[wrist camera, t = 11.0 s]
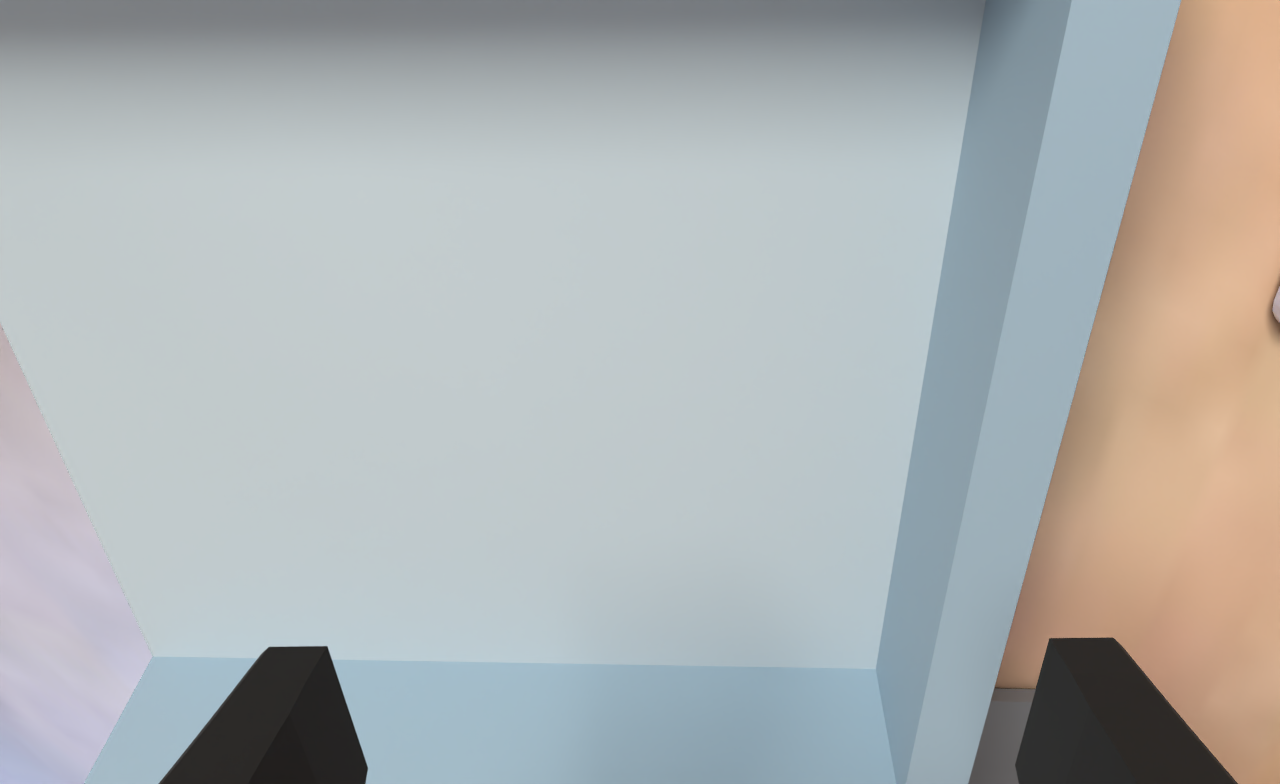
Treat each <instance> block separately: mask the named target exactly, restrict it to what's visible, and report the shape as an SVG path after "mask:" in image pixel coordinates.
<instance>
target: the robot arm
mask: <svg viewBox="0 0 1280 784" xmlns="http://www.w3.org/2000/svg"><path fill="white" fill-rule="evenodd" d="M1272 311H1273V313H1274V316H1275V318H1276V319H1277V320H1278V321H1279V323H1280V286H1279V289H1278V292H1277V294H1276V297H1275V299H1274V303H1273V309H1272ZM1015 767H1016V772H1017V777H1018V782H1019V784H1238V783H1237V782H1236V781H1235V780H1234V779H1233V778H1232V776H1231V775H1230V774H1229V773H1228V772H1227V771H1226V769H1225V768H1224V767H1223V766H1222V765H1221V764H1220V763H1219V761H1218V760H1217V759H1216V758H1215V757H1214V755H1213V754H1212V753H1211V752H1210V751H1209V750H1208V748H1207V747H1206V746H1205V745H1204V744H1203V743H1202V741H1201V740H1200V739H1199V738H1198V737H1197V736H1196V734H1195V733H1194V732H1193V731H1192V730H1191V729H1190V727H1189V726H1188V725H1187V724H1186V723H1185V721H1184V720H1183V719H1182V718H1181V717H1180V715H1179V714H1178V713H1177V712H1176V711H1175V710H1174V708H1173V707H1172V706H1171V705H1170V704H1169V702H1168V701H1167V700H1166V699H1165V698H1164V696H1163V695H1162V694H1161V693H1160V692H1159V690H1158V689H1157V688H1156V687H1155V685H1154V684H1153V683H1152V682H1151V681H1150V679H1149V678H1148V677H1147V676H1146V675H1145V673H1144V672H1143V671H1142V670H1141V669H1140V667H1139V666H1138V665H1137V664H1136V662H1135V661H1134V660H1133V659H1132V658H1131V656H1130V655H1129V654H1128V653H1127V652H1126V650H1125V649H1124V648H1123V647H1122V646H1121V645H1120V644H1119V643H1118V642H1117V641H1116V640H1115V639H1114V638H1050V639H1049V642H1048V646H1047V650H1046V653H1045V657H1044V661H1043V664H1042V668H1041V672H1040V675H1039V679H1038V683H1037V686H1036V690H1035V694H1034V697H1033V701H1032V705H1031V708H1030V712H1029V716H1028V719H1027V723H1026V727H1025V730H1024V734H1023V738H1022V741H1021V745H1020V749H1019V752H1018V756H1017V760H1016V763H1015ZM367 772H368V766H367V763H366V760H365V757H364V754H363V751H362V748H361V745H360V742H359V739H358V736H357V733H356V730H355V727H354V724H353V721H352V718H351V715H350V712H349V709H348V706H347V703H346V700H345V697H344V694H343V691H342V688H341V685H340V682H339V679H338V676H337V673H336V670H335V667H334V664H333V661H332V658H331V655H330V652H329V649H328V646H290V647H268V648H267V649H266V650H265V651H264V652H263V653H262V654H261V655H260V656H259V657H258V659H257V660H256V661H255V662H254V664H253V665H252V666H251V668H250V669H249V670H248V671H247V673H246V674H245V675H244V676H243V678H242V679H241V680H240V682H239V683H238V684H237V685H236V687H235V688H234V689H233V691H232V692H231V693H230V694H229V696H228V697H227V698H226V700H225V701H224V702H223V703H222V705H221V706H220V707H219V708H218V710H217V711H216V712H215V714H214V715H213V716H212V717H211V719H210V720H209V721H208V723H207V724H206V725H205V726H204V728H203V729H202V730H201V731H200V733H199V734H198V735H197V736H196V738H195V739H194V740H193V741H192V743H191V744H190V745H189V746H188V748H187V749H186V750H185V751H184V753H183V754H182V755H181V756H180V758H179V759H178V760H177V761H176V763H175V764H174V765H173V766H172V768H171V769H170V770H169V771H168V773H167V774H166V775H165V776H164V778H163V779H162V780H161V781H160V782H159V784H365V783H366V777H367Z"/></svg>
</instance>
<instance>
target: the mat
mask: <svg viewBox="0 0 1280 784" xmlns="http://www.w3.org/2000/svg"><path fill="white" fill-rule="evenodd" d="M1035 690H1036V689H996V688H994V691H993V694H992V698H991V702H990V705H989V709H988V713H987V716H986V720H985V724H984V727H983V731H982V735H981V738H980V742H979V746H978V749H977V753H976V757H975V760H974V764H973V768H972V771H971V775H970V779H969V783H968V784H1019V782H1018V777H1017V772H1016V767H1015V763H1016V760H1017V756H1018V752H1019V749H1020V745H1021V741H1022V738H1023V734H1024V730H1025V727H1026V723H1027V719H1028V716H1029V712H1030V708H1031V705H1032V701H1033V697H1034V694H1035Z"/></svg>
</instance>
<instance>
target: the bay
mask: <svg viewBox="0 0 1280 784" xmlns="http://www.w3.org/2000/svg"><path fill="white" fill-rule="evenodd" d="M1180 3H1181V0H0V323H1V326H2V328H3V330H4V332H5V334H6V336H7V339H8V341H9V343H10V345H11V347H12V350H13V352H14V354H15V356H16V358H17V361H18V363H19V365H20V367H21V369H22V371H23V374H24V376H25V378H26V380H27V382H28V385H29V387H30V389H31V391H32V393H33V396H34V398H35V400H36V402H37V404H38V407H39V409H40V411H41V413H42V415H43V417H44V420H45V422H46V424H47V426H48V428H49V431H50V433H51V435H52V437H53V439H54V442H55V444H56V446H57V448H58V450H59V453H60V455H61V457H62V459H63V461H64V463H65V466H66V468H67V470H68V472H69V474H70V477H71V479H72V481H73V483H74V485H75V488H76V490H77V492H78V494H79V496H80V498H81V501H82V503H83V505H84V507H85V509H86V512H87V514H88V516H89V518H90V520H91V523H92V525H93V527H94V529H95V531H96V534H97V536H98V538H99V540H100V542H101V544H102V547H103V549H104V551H105V553H106V555H107V558H108V560H109V562H110V564H111V566H112V569H113V571H114V573H115V575H116V577H117V580H118V582H119V584H120V586H121V588H122V590H123V593H124V595H125V597H126V599H127V601H128V604H129V606H130V608H131V610H132V612H133V615H134V617H135V619H136V621H137V623H138V625H139V628H140V630H141V632H142V634H143V636H144V639H145V641H146V643H147V645H148V647H149V650H150V652H151V654H152V656H153V657H152V659H151V661H150V662H149V664H148V666H147V668H146V670H145V672H144V674H143V675H142V677H141V679H140V681H139V683H138V685H137V686H136V688H135V690H134V692H133V694H132V696H131V698H130V699H129V701H128V703H127V705H126V707H125V709H124V710H123V712H122V714H121V716H120V718H119V720H118V722H117V723H116V725H115V727H114V729H113V731H112V733H111V734H110V736H109V738H108V740H107V742H106V744H105V746H104V747H103V749H102V751H101V753H100V755H99V757H98V758H97V760H96V762H95V764H94V766H93V768H92V770H91V771H90V773H89V775H88V777H87V779H86V781H85V783H84V784H159V782H160V781H161V780H162V779H163V778H164V776H165V775H166V774H167V773H168V771H169V770H170V769H171V768H172V766H173V765H174V764H175V763H176V761H177V760H178V759H179V758H180V756H181V755H182V754H183V753H184V751H185V750H186V749H187V748H188V746H189V745H190V744H191V743H192V741H193V740H194V739H195V738H196V736H197V735H198V734H199V733H200V731H201V730H202V729H203V728H204V726H205V725H206V724H207V723H208V721H209V720H210V719H211V717H212V716H213V715H214V714H215V712H216V711H217V710H218V708H219V707H220V706H221V705H222V703H223V702H224V701H225V700H226V698H227V697H228V696H229V694H230V693H231V692H232V691H233V689H234V688H235V687H236V685H237V684H238V683H239V682H240V680H241V679H242V678H243V676H244V675H245V674H246V673H247V671H248V670H249V669H250V668H251V666H252V665H253V664H254V662H255V661H256V660H257V659H258V657H259V656H260V655H261V654H262V653H263V652H264V651H265V650H266V649H267V648H268V647H290V646H328V649H329V652H330V655H331V658H332V661H333V664H334V667H335V670H336V673H337V676H338V679H339V682H340V685H341V688H342V691H343V694H344V697H345V700H346V703H347V706H348V709H349V712H350V715H351V718H352V721H353V724H354V727H355V730H356V733H357V736H358V739H359V742H360V745H361V748H362V751H363V754H364V757H365V760H366V763H367V766H368V772H367V777H366V783H365V784H968V783H969V779H970V775H971V771H972V768H973V764H974V760H975V757H976V753H977V749H978V746H979V742H980V738H981V735H982V731H983V727H984V724H985V720H986V716H987V713H988V709H989V705H990V702H991V698H992V694H993V691H994V687H995V683H996V680H997V676H998V672H999V668H1000V665H1001V661H1002V657H1003V654H1004V650H1005V646H1006V643H1007V639H1008V635H1009V632H1010V628H1011V624H1012V621H1013V617H1014V613H1015V610H1016V606H1017V602H1018V599H1019V595H1020V591H1021V588H1022V584H1023V580H1024V577H1025V573H1026V569H1027V565H1028V562H1029V558H1030V554H1031V551H1032V547H1033V543H1034V540H1035V536H1036V532H1037V529H1038V525H1039V521H1040V518H1041V514H1042V510H1043V507H1044V503H1045V499H1046V496H1047V492H1048V488H1049V485H1050V481H1051V477H1052V473H1053V470H1054V466H1055V462H1056V459H1057V455H1058V451H1059V448H1060V444H1061V440H1062V437H1063V433H1064V429H1065V426H1066V422H1067V418H1068V415H1069V411H1070V407H1071V404H1072V400H1073V396H1074V393H1075V389H1076V385H1077V382H1078V378H1079V374H1080V370H1081V367H1082V363H1083V359H1084V356H1085V352H1086V348H1087V345H1088V341H1089V337H1090V334H1091V330H1092V326H1093V323H1094V319H1095V315H1096V312H1097V308H1098V304H1099V301H1100V297H1101V293H1102V290H1103V286H1104V282H1105V278H1106V275H1107V271H1108V267H1109V264H1110V260H1111V256H1112V253H1113V249H1114V245H1115V242H1116V238H1117V234H1118V231H1119V227H1120V223H1121V220H1122V216H1123V212H1124V209H1125V205H1126V201H1127V198H1128V194H1129V190H1130V187H1131V183H1132V179H1133V175H1134V172H1135V168H1136V164H1137V161H1138V157H1139V153H1140V150H1141V146H1142V142H1143V139H1144V135H1145V131H1146V128H1147V124H1148V120H1149V117H1150V113H1151V109H1152V106H1153V102H1154V98H1155V95H1156V91H1157V87H1158V84H1159V80H1160V76H1161V72H1162V69H1163V65H1164V61H1165V58H1166V54H1167V50H1168V47H1169V43H1170V39H1171V36H1172V32H1173V28H1174V25H1175V21H1176V17H1177V14H1178V10H1179V6H1180Z"/></svg>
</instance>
